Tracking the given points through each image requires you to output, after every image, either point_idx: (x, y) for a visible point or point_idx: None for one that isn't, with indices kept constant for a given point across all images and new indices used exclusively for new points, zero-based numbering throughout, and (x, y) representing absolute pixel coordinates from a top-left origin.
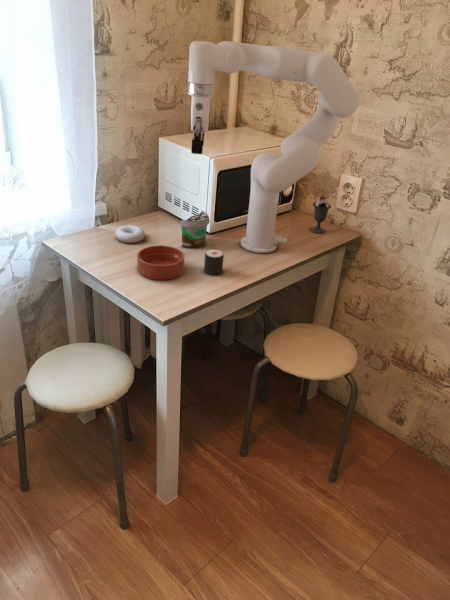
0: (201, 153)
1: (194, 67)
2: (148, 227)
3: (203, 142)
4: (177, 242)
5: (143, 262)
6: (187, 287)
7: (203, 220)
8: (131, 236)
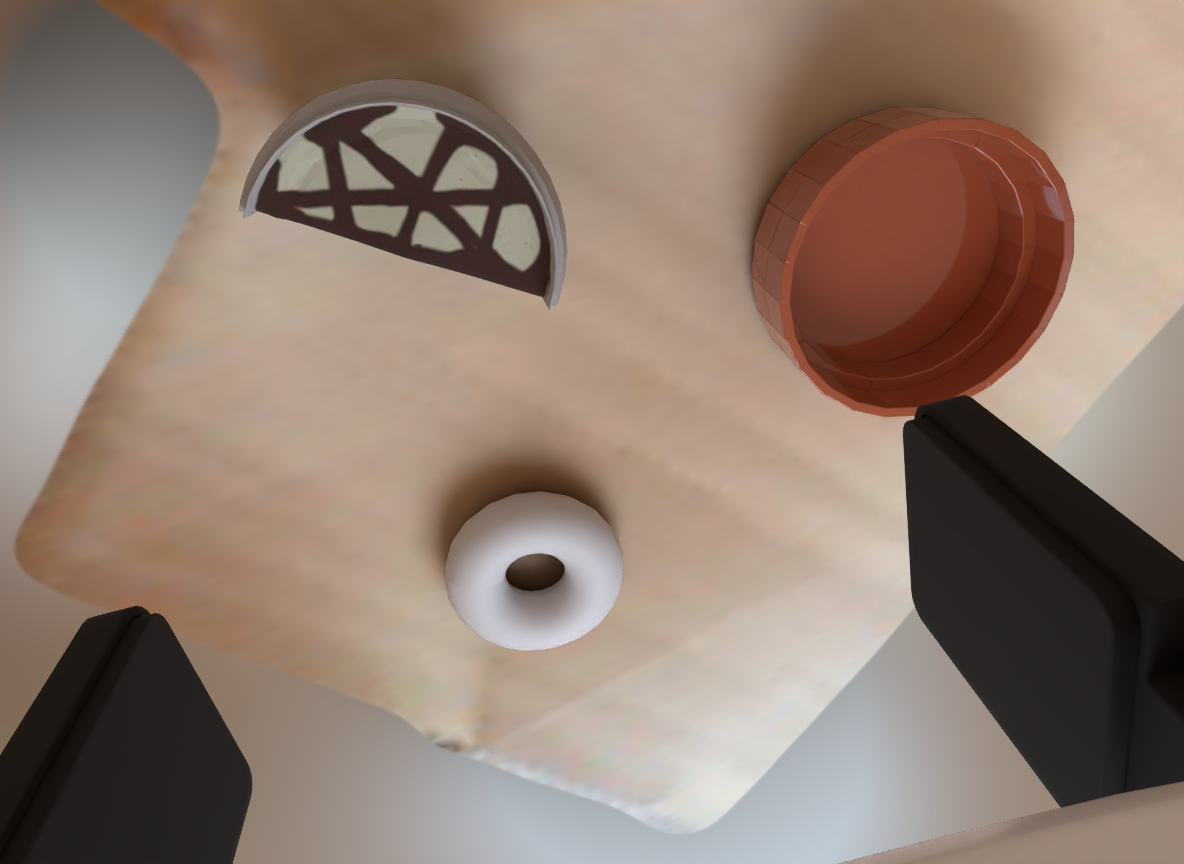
0: (960, 408)
1: None
2: (319, 534)
3: (100, 661)
4: (460, 290)
5: (1036, 339)
6: (1069, 21)
7: (474, 123)
8: (611, 546)
